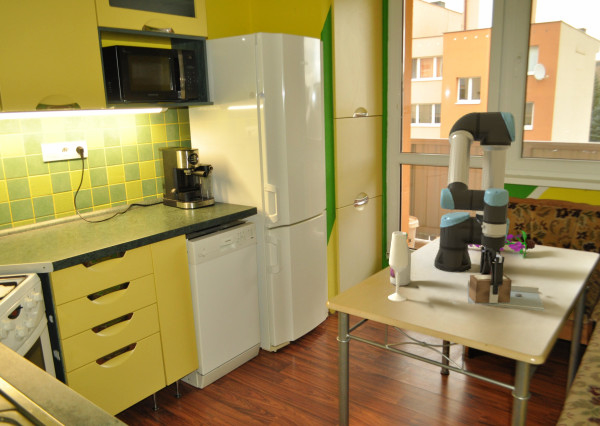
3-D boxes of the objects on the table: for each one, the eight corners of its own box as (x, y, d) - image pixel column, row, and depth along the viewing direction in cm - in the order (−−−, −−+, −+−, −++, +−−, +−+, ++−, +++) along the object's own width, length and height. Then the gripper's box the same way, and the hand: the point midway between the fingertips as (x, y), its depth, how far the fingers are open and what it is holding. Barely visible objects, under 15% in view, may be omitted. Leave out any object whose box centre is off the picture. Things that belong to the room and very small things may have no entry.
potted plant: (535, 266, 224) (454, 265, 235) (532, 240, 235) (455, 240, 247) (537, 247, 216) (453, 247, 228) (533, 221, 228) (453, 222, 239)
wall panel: (467, 306, 170) (468, 297, 169) (467, 288, 187) (468, 280, 186) (544, 314, 163) (545, 305, 162) (537, 294, 179) (538, 286, 179)
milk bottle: (412, 280, 195) (413, 231, 191) (407, 287, 188) (409, 236, 184) (392, 278, 198) (394, 229, 194) (387, 284, 192) (389, 234, 187)
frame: (475, 303, 170) (476, 280, 168) (468, 296, 175) (470, 274, 174) (509, 302, 170) (511, 279, 168) (502, 295, 176) (504, 273, 174)
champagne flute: (400, 293, 182) (403, 230, 177) (410, 299, 176) (412, 234, 171) (384, 295, 180) (386, 231, 175) (393, 302, 174) (395, 236, 169)
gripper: (472, 227, 177) (468, 288, 182) (494, 242, 158) (489, 310, 163) (492, 227, 177) (488, 288, 182) (517, 241, 158) (512, 309, 163)
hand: (489, 298), depth 173 cm, fingers closed on wall panel, 6 cm apart
